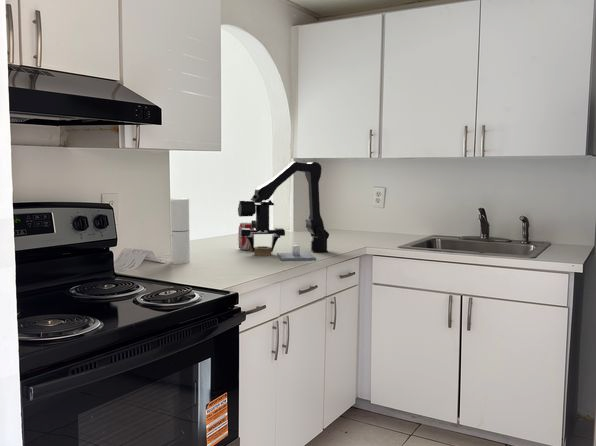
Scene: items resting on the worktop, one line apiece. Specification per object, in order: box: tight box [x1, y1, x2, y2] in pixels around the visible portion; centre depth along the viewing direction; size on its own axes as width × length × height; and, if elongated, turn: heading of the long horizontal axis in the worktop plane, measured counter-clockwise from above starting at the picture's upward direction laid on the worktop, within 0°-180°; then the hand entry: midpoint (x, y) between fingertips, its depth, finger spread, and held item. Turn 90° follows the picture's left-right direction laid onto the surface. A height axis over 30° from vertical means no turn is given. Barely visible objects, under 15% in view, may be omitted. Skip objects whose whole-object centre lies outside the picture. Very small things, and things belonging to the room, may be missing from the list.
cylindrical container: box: [169, 197, 191, 265], centre depth 217 cm, size 7×7×25 cm
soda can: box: [237, 222, 255, 251], centre depth 252 cm, size 7×7×12 cm
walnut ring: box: [253, 245, 272, 257], centre depth 239 cm, size 7×7×3 cm
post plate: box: [276, 244, 317, 262], centre depth 231 cm, size 14×14×5 cm
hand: (262, 252), depth 239 cm, fingers open, 8 cm apart
